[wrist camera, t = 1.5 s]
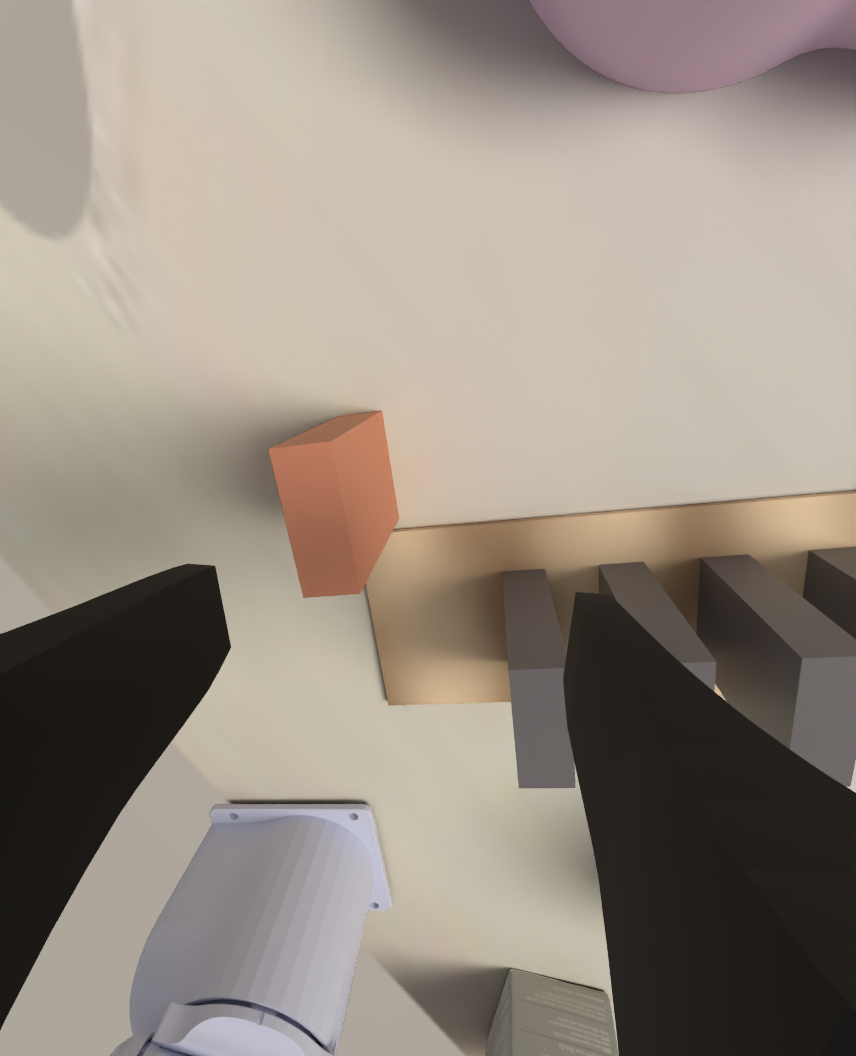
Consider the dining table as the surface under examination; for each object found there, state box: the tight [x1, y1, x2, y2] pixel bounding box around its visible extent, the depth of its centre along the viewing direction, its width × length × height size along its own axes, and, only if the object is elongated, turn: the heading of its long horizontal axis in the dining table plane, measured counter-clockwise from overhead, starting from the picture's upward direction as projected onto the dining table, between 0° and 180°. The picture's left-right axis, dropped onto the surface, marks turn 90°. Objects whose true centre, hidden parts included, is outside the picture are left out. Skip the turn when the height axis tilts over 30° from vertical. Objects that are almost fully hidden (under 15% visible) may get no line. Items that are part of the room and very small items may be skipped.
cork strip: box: [366, 491, 856, 705], centre depth 21 cm, size 26×9×1 cm, turn 98°
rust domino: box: [268, 411, 399, 598], centre depth 18 cm, size 2×5×7 cm, turn 8°
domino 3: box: [696, 554, 856, 786], centre depth 18 cm, size 2×5×7 cm, turn 8°
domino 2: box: [598, 562, 716, 691], centre depth 18 cm, size 2×5×7 cm, turn 8°
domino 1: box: [502, 568, 575, 788], centre depth 19 cm, size 2×5×7 cm, turn 7°
